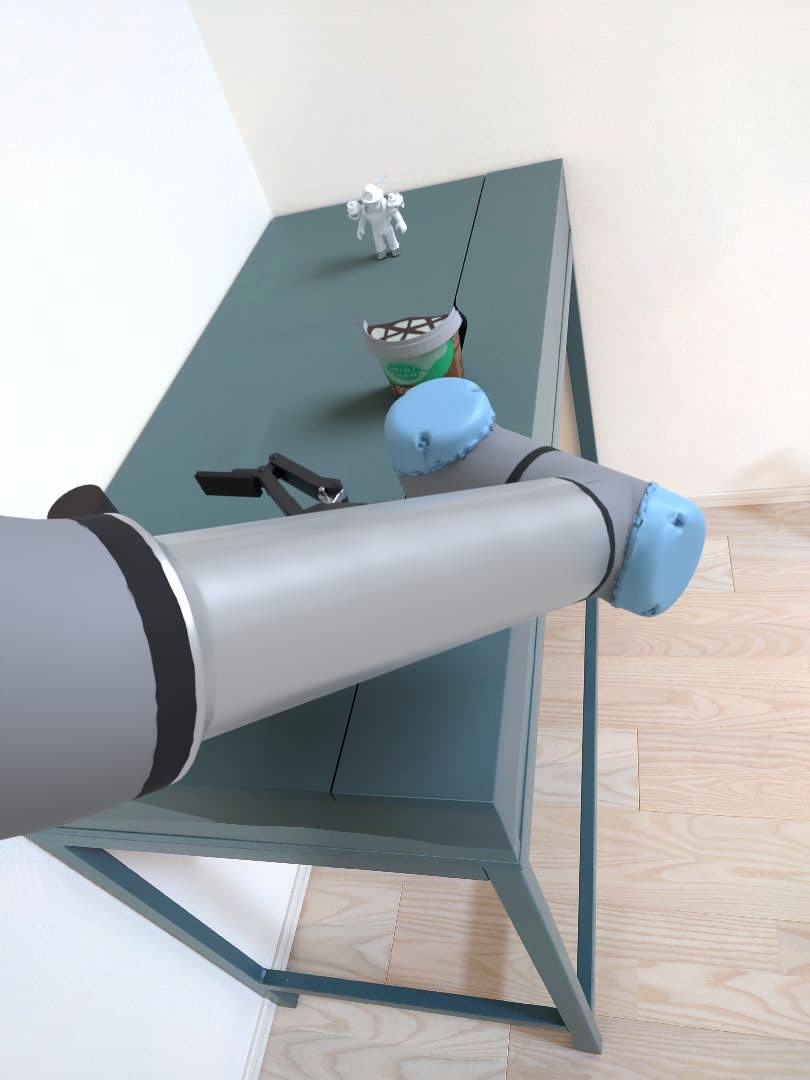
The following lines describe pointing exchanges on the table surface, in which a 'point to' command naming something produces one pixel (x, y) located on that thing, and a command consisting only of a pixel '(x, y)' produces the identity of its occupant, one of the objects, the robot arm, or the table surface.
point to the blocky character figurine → (378, 214)
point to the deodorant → (81, 503)
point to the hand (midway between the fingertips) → (169, 533)
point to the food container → (417, 349)
